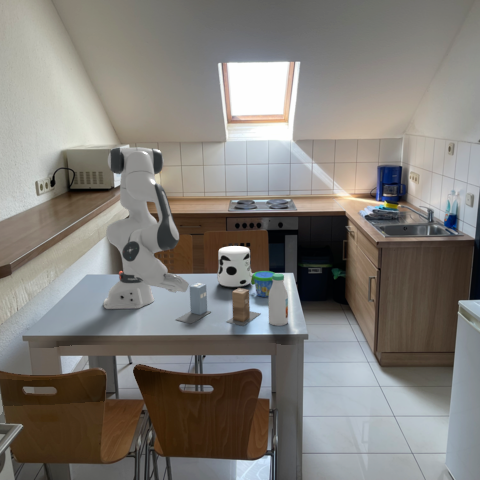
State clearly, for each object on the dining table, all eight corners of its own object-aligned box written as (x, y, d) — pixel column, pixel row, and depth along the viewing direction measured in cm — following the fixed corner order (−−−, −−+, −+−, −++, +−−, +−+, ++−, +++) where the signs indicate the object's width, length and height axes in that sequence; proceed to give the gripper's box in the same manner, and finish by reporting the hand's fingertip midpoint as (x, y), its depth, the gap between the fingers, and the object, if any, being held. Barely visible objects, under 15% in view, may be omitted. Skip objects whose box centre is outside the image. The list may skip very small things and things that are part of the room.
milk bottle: (282, 327, 185) (282, 279, 180) (265, 323, 189) (264, 276, 184) (291, 320, 191) (291, 273, 187) (274, 317, 195) (274, 270, 191)
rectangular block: (200, 315, 198) (199, 287, 195) (190, 312, 201) (189, 285, 198) (207, 311, 202) (206, 284, 199) (197, 308, 205) (196, 282, 202)
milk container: (259, 284, 236) (259, 249, 232) (234, 293, 225) (232, 256, 220) (235, 277, 248) (234, 243, 244) (210, 285, 237) (209, 250, 233)
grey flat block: (191, 323, 191) (191, 323, 191) (175, 320, 195) (175, 319, 195) (211, 312, 202) (211, 311, 202) (196, 308, 206) (196, 308, 206)
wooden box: (243, 322, 190) (243, 293, 187) (232, 319, 193) (232, 291, 190) (250, 317, 194) (249, 289, 191) (239, 315, 197) (238, 287, 194)
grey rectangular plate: (243, 326, 187) (243, 325, 187) (226, 322, 191) (226, 321, 191) (260, 314, 199) (260, 313, 199) (244, 310, 203) (244, 309, 203)
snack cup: (284, 296, 218) (284, 275, 216) (267, 302, 212) (267, 280, 210) (262, 288, 230) (262, 268, 228) (245, 293, 224) (245, 272, 222)
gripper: (180, 269, 168) (198, 287, 178) (138, 262, 179) (157, 279, 189) (173, 284, 165) (191, 302, 176) (130, 276, 176) (150, 293, 186)
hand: (173, 290), depth 182 cm, fingers closed
